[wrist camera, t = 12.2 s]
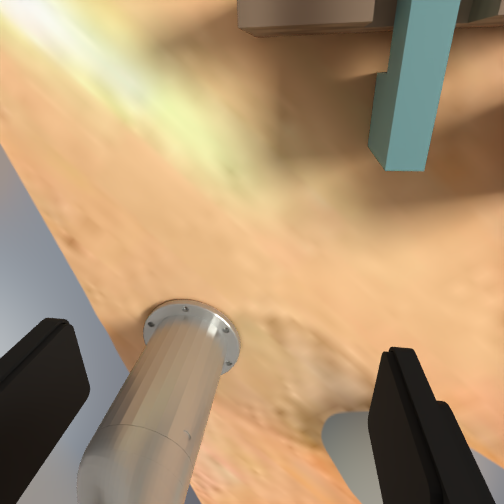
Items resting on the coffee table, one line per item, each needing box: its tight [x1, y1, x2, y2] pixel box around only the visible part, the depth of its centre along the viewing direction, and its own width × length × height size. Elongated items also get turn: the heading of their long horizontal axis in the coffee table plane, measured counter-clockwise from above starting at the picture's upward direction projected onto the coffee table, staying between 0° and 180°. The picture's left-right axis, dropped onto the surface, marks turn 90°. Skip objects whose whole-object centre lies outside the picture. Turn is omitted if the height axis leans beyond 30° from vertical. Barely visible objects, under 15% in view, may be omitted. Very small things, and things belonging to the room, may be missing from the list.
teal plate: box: [368, 0, 461, 171], centre depth 22 cm, size 18×2×8 cm, turn 2°
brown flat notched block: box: [237, 0, 504, 37], centre depth 22 cm, size 22×2×8 cm, turn 92°
